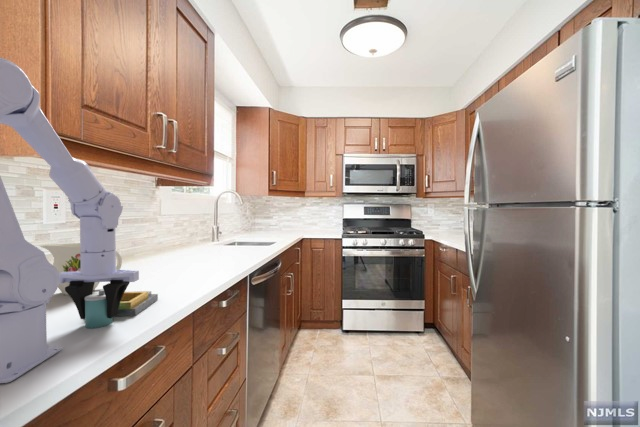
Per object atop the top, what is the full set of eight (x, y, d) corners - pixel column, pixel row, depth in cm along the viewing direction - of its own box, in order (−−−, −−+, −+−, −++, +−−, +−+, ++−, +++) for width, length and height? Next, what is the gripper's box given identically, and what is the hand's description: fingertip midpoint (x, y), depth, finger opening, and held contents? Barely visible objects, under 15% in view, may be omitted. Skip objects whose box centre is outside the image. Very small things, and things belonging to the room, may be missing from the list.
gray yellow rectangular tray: (135, 315, 64) (135, 302, 64) (86, 317, 63) (86, 303, 63) (160, 297, 76) (160, 286, 76) (119, 299, 75) (119, 287, 75)
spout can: (104, 328, 57) (103, 294, 57) (79, 329, 57) (78, 295, 57) (117, 319, 62) (117, 288, 62) (94, 319, 62) (94, 289, 61)
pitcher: (126, 288, 85) (125, 241, 85) (41, 302, 72) (40, 247, 72) (117, 281, 93) (117, 238, 92) (39, 293, 80) (38, 243, 79)
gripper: (145, 247, 64) (146, 308, 64) (74, 248, 62) (75, 311, 63) (128, 252, 57) (128, 321, 57) (47, 253, 55) (48, 324, 56)
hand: (99, 316), depth 60 cm, fingers closed on spout can, 4 cm apart
